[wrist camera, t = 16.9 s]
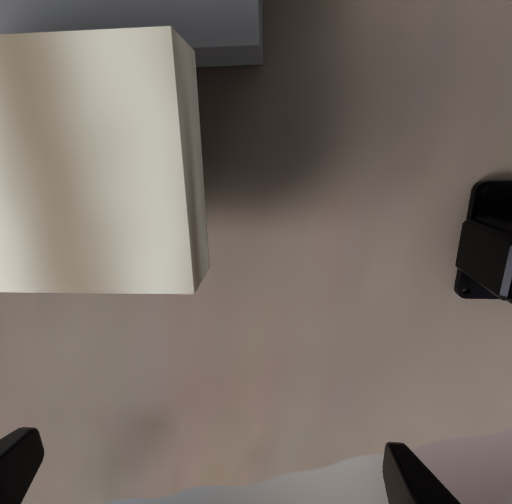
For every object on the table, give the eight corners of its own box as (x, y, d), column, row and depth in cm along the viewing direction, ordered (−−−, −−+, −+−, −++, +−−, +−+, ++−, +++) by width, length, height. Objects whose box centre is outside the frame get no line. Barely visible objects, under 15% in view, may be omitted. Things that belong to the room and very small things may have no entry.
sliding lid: (194, 51, 13) (170, 26, 10) (209, 266, 16) (194, 294, 13) (-21, 60, 14) (-100, 39, 11) (30, 266, 16) (-23, 291, 14)
